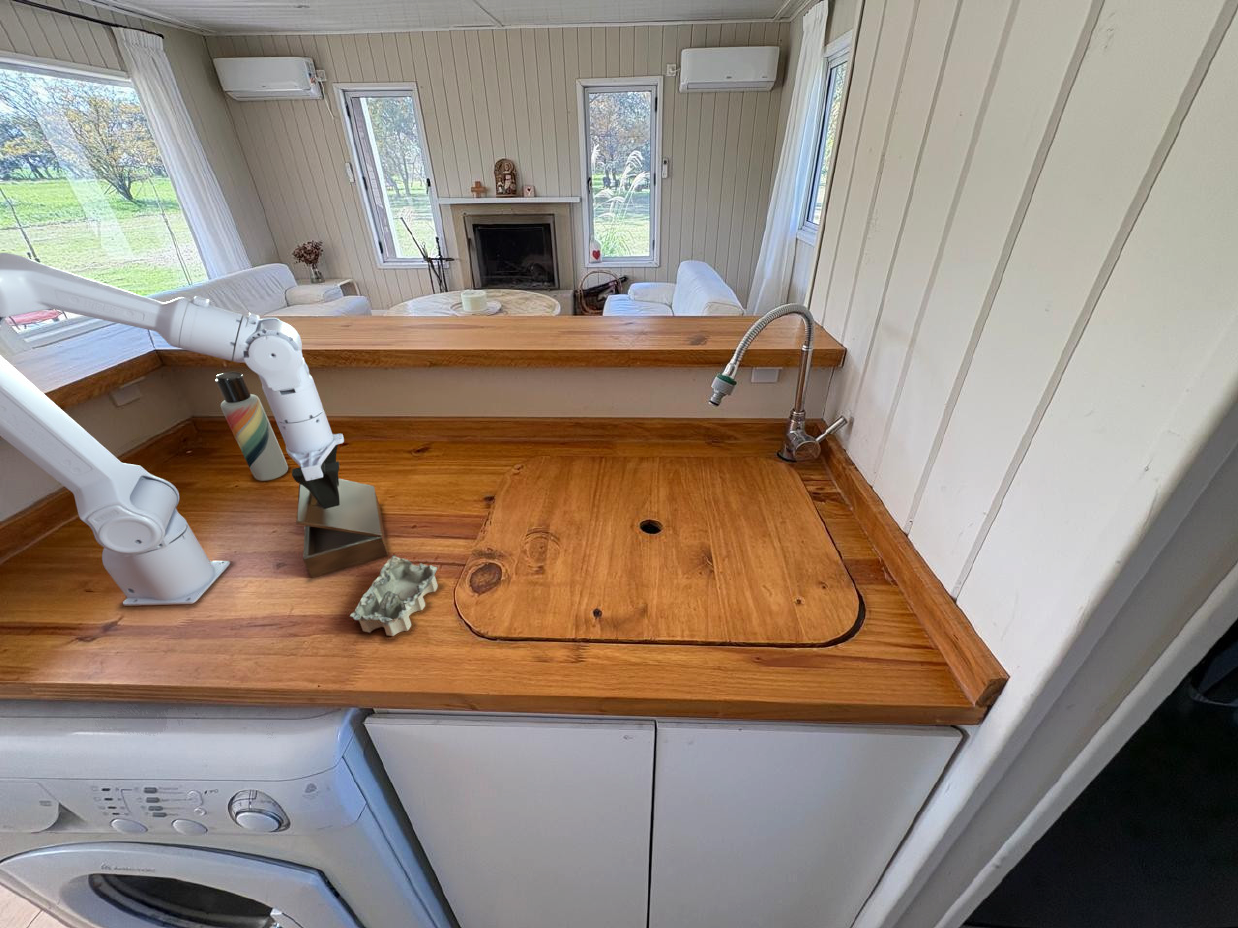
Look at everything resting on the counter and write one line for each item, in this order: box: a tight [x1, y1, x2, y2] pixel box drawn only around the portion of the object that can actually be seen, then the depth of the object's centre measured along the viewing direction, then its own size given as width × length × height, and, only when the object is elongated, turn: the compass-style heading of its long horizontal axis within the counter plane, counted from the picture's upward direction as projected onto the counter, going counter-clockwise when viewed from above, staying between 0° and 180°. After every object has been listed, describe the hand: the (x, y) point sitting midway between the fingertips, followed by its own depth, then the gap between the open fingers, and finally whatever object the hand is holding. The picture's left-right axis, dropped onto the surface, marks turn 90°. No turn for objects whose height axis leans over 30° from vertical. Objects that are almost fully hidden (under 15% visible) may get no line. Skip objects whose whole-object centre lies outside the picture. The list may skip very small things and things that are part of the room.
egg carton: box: [349, 554, 439, 637], centre depth 66 cm, size 11×8×4 cm
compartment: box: [302, 492, 389, 579], centre depth 77 cm, size 10×14×4 cm
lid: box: [295, 478, 382, 537], centre depth 74 cm, size 11×14×4 cm
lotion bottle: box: [215, 371, 289, 482], centre depth 89 cm, size 6×6×20 cm
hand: (331, 496), depth 74 cm, fingers closed on lid, 5 cm apart
